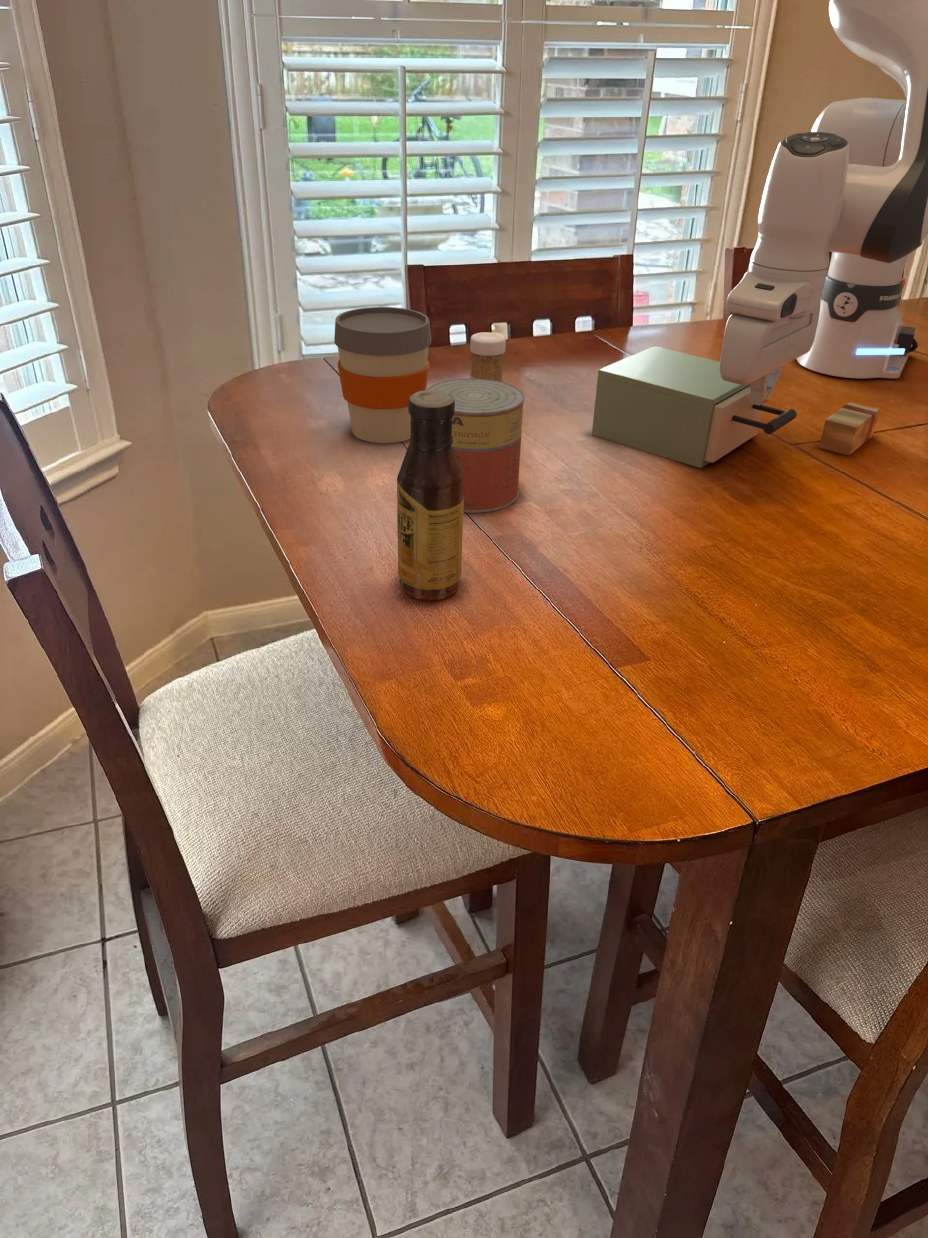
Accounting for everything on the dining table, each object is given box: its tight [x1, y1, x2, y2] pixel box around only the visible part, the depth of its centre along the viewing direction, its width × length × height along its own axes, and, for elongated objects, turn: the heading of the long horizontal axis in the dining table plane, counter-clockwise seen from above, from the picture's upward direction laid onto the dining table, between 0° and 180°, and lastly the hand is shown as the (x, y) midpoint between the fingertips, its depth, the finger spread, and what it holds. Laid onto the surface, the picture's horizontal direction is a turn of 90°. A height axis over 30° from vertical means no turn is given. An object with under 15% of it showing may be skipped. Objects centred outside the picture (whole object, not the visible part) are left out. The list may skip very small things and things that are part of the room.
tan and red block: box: [818, 401, 881, 457], centre depth 125 cm, size 9×4×4 cm, turn 140°
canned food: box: [426, 377, 525, 514], centre depth 107 cm, size 11×11×12 cm
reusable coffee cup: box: [333, 306, 432, 444], centre depth 121 cm, size 13×12×15 cm
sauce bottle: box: [396, 389, 464, 602], centre depth 86 cm, size 7×6×20 cm
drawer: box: [705, 386, 798, 464], centre depth 121 cm, size 21×13×7 cm, turn 50°
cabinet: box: [591, 345, 750, 469], centre depth 124 cm, size 17×15×9 cm
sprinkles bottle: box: [469, 331, 507, 382], centre depth 121 cm, size 5×5×13 cm
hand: (759, 401), depth 116 cm, fingers closed
